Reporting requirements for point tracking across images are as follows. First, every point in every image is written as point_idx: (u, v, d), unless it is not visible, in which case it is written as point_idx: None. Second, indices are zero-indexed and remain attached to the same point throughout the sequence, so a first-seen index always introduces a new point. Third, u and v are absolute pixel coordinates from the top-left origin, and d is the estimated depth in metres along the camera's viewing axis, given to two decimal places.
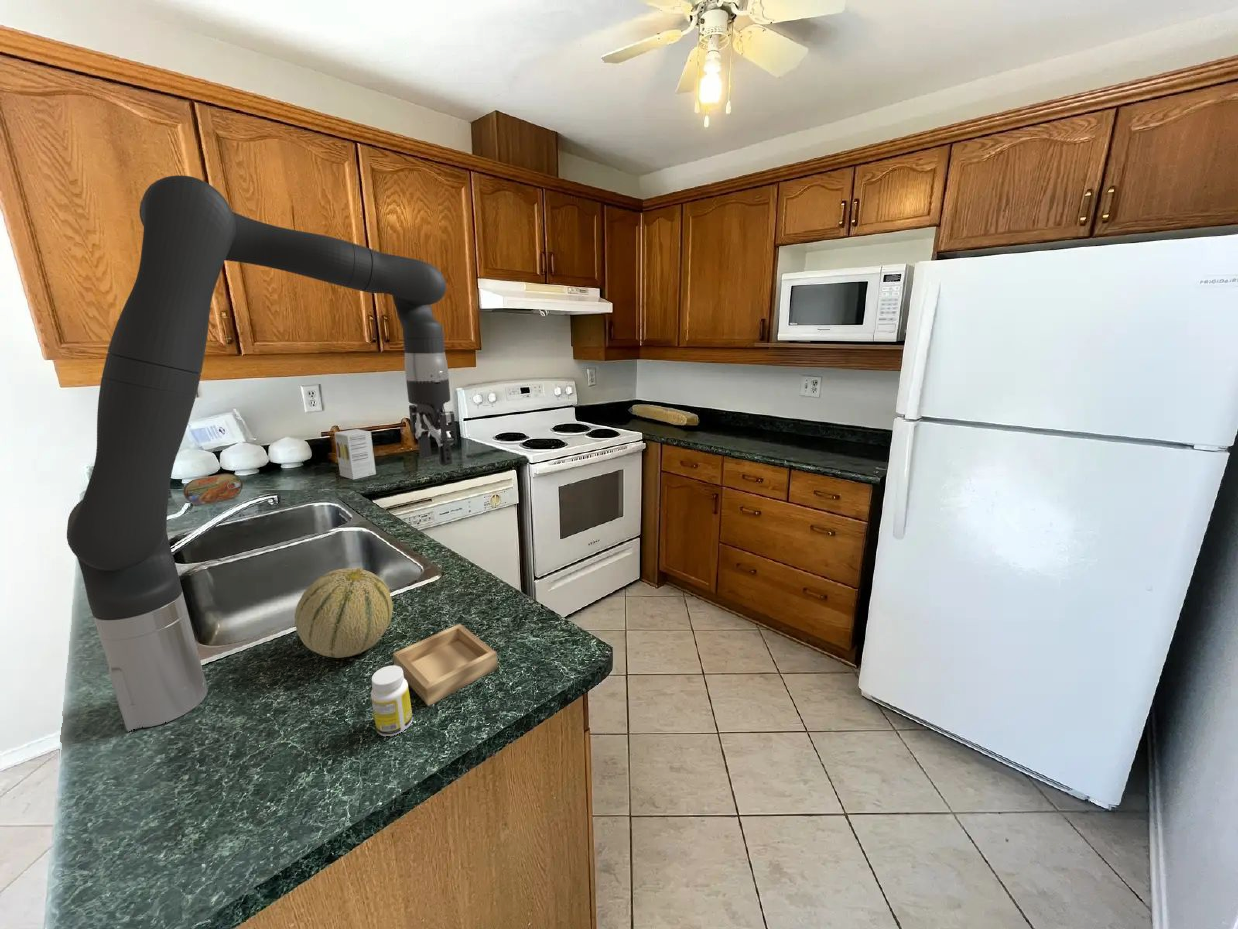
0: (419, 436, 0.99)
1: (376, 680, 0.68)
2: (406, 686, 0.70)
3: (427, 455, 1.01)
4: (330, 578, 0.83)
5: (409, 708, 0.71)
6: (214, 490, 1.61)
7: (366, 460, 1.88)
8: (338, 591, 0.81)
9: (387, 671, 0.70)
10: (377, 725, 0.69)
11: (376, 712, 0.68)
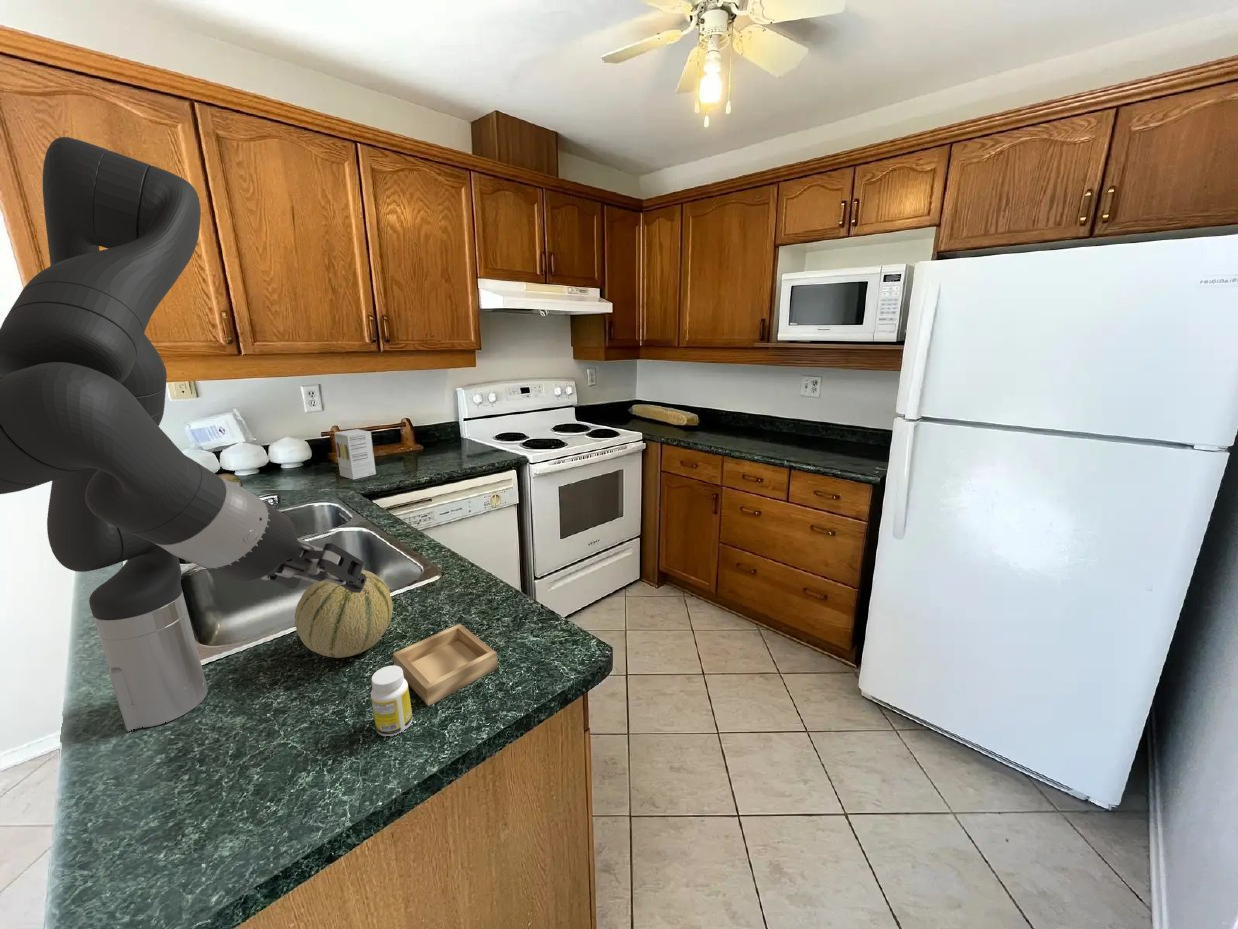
0: None
1: (376, 680, 0.68)
2: (406, 686, 0.70)
3: None
4: None
5: (409, 708, 0.71)
6: None
7: (366, 460, 1.88)
8: (338, 591, 0.81)
9: (387, 671, 0.70)
10: (377, 725, 0.69)
11: (376, 712, 0.68)
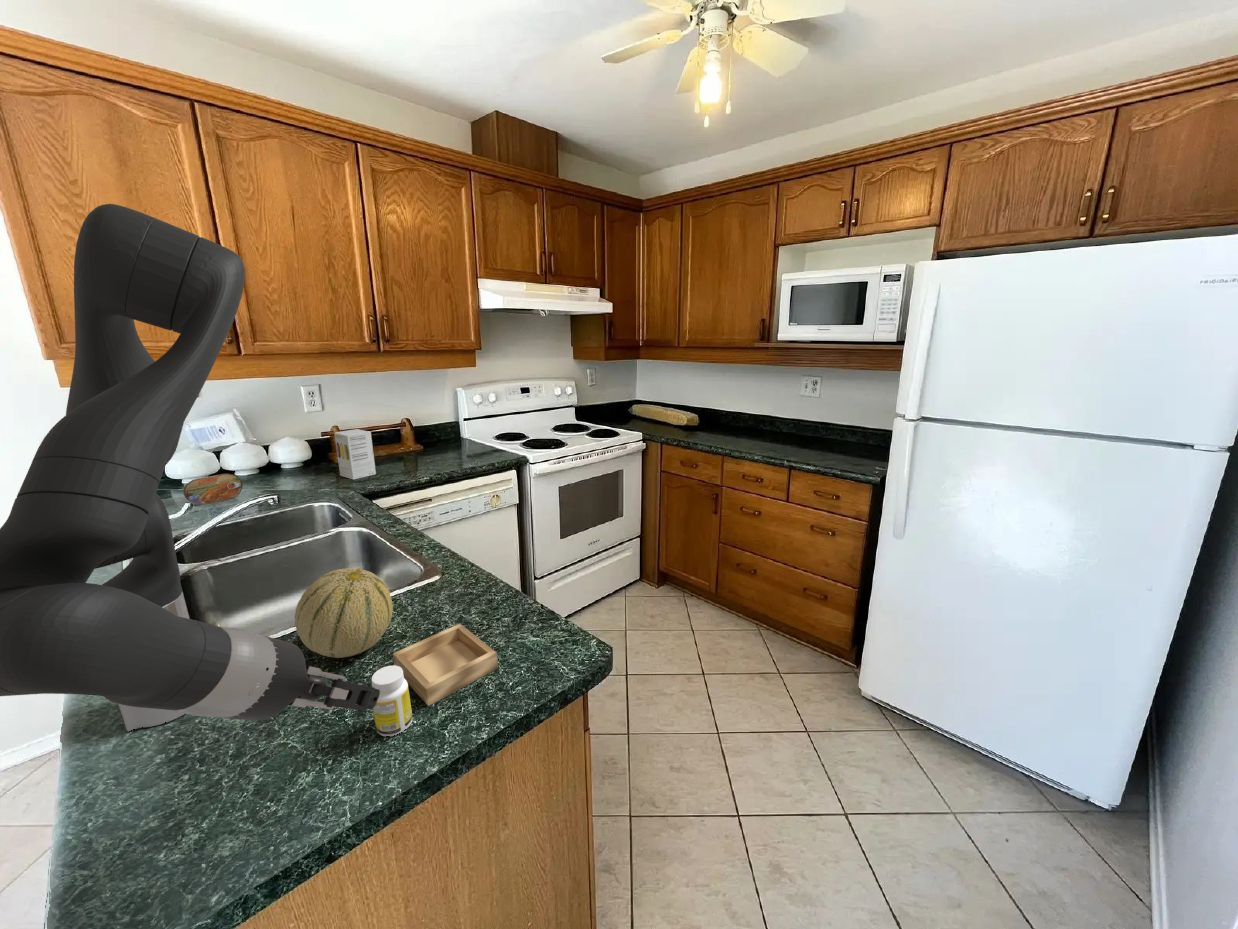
0: None
1: (376, 680, 0.68)
2: (406, 686, 0.70)
3: None
4: (330, 578, 0.83)
5: (409, 708, 0.71)
6: (214, 490, 1.61)
7: (366, 460, 1.88)
8: (338, 591, 0.81)
9: (387, 671, 0.70)
10: (377, 725, 0.69)
11: (376, 712, 0.68)
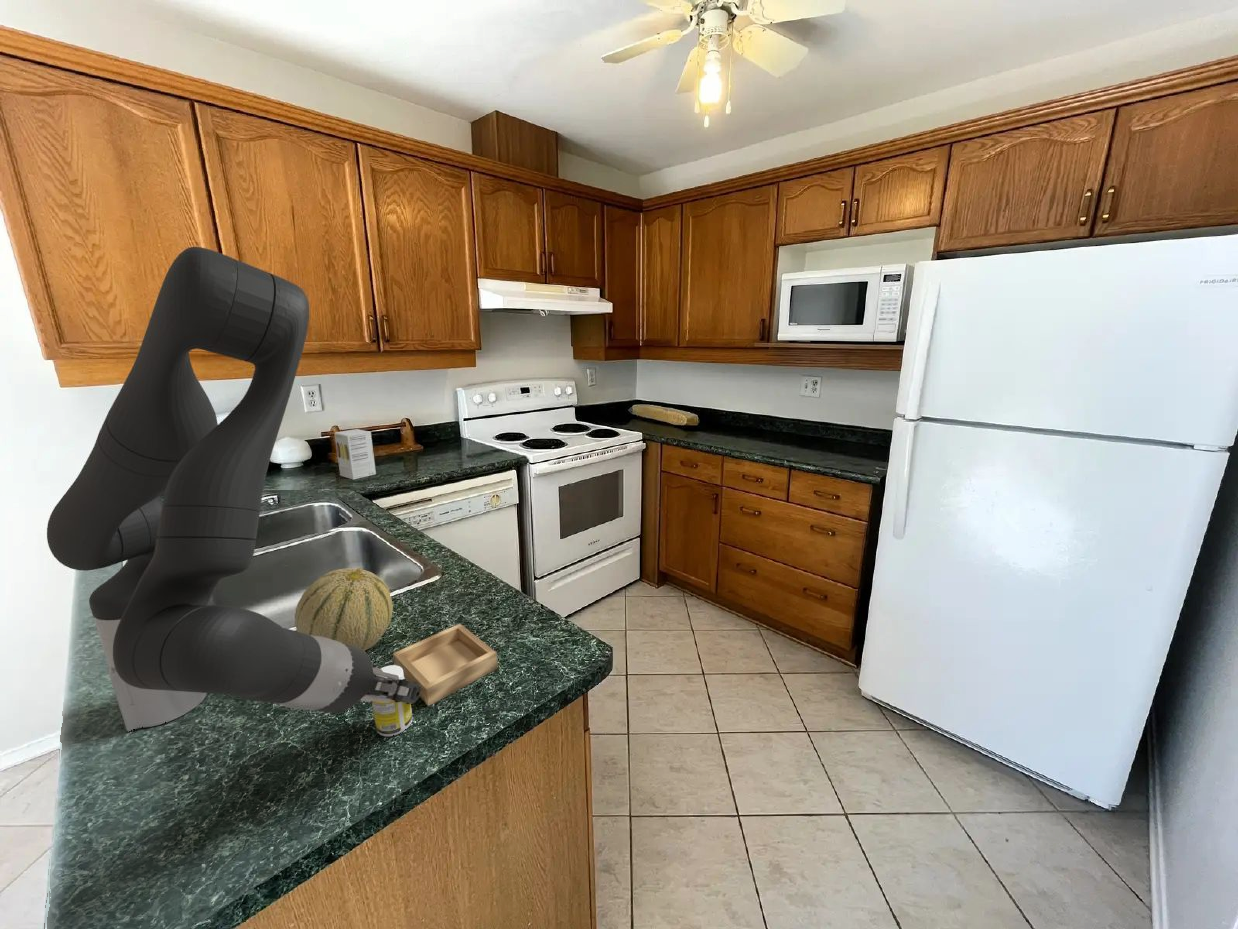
0: None
1: None
2: None
3: None
4: (330, 578, 0.83)
5: (409, 708, 0.71)
6: None
7: (366, 460, 1.88)
8: (338, 591, 0.81)
9: (387, 670, 0.70)
10: (377, 725, 0.69)
11: (376, 712, 0.68)
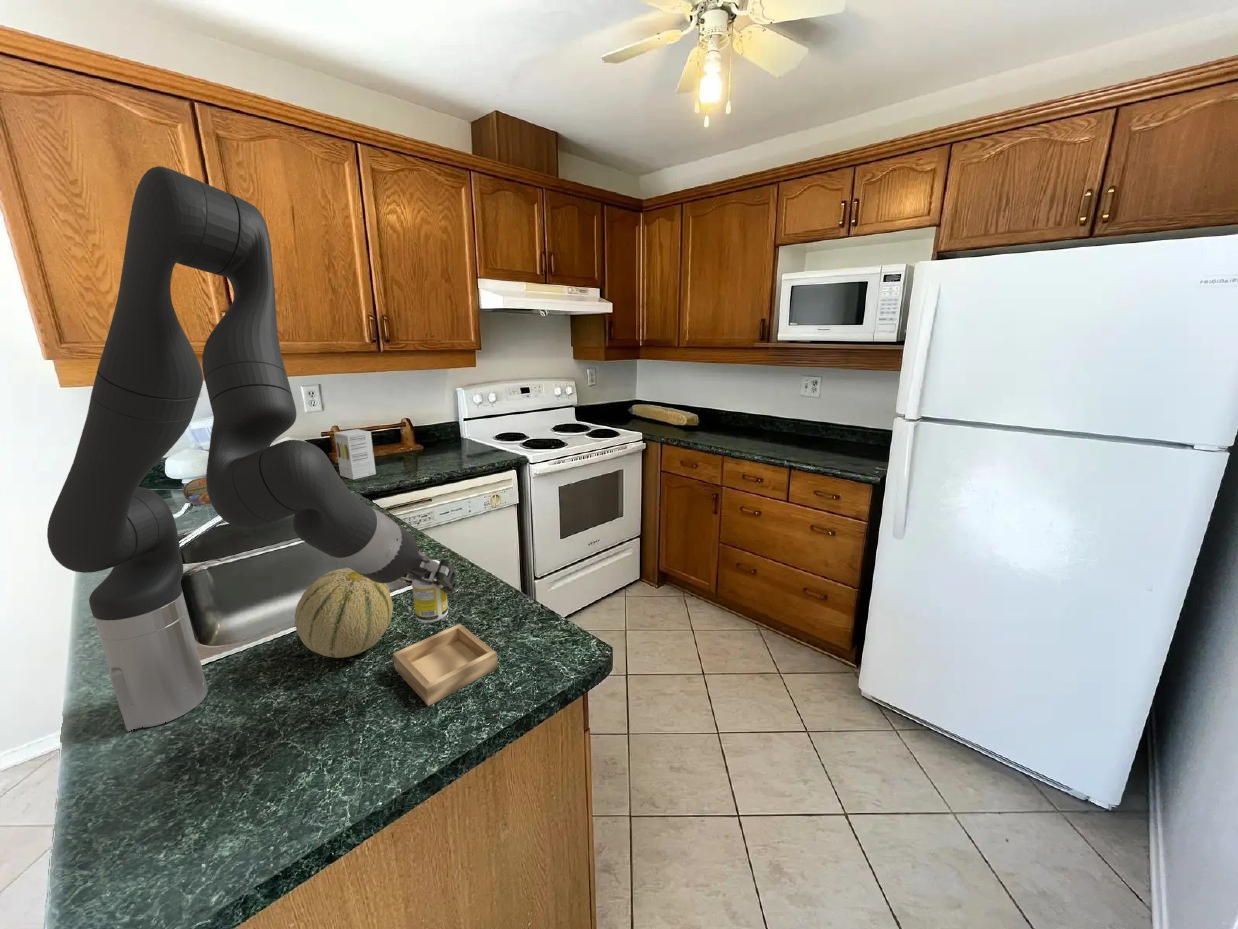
0: None
1: None
2: None
3: None
4: (330, 578, 0.83)
5: (446, 599, 0.77)
6: None
7: (366, 460, 1.88)
8: (338, 591, 0.81)
9: None
10: (417, 611, 0.75)
11: (416, 598, 0.74)
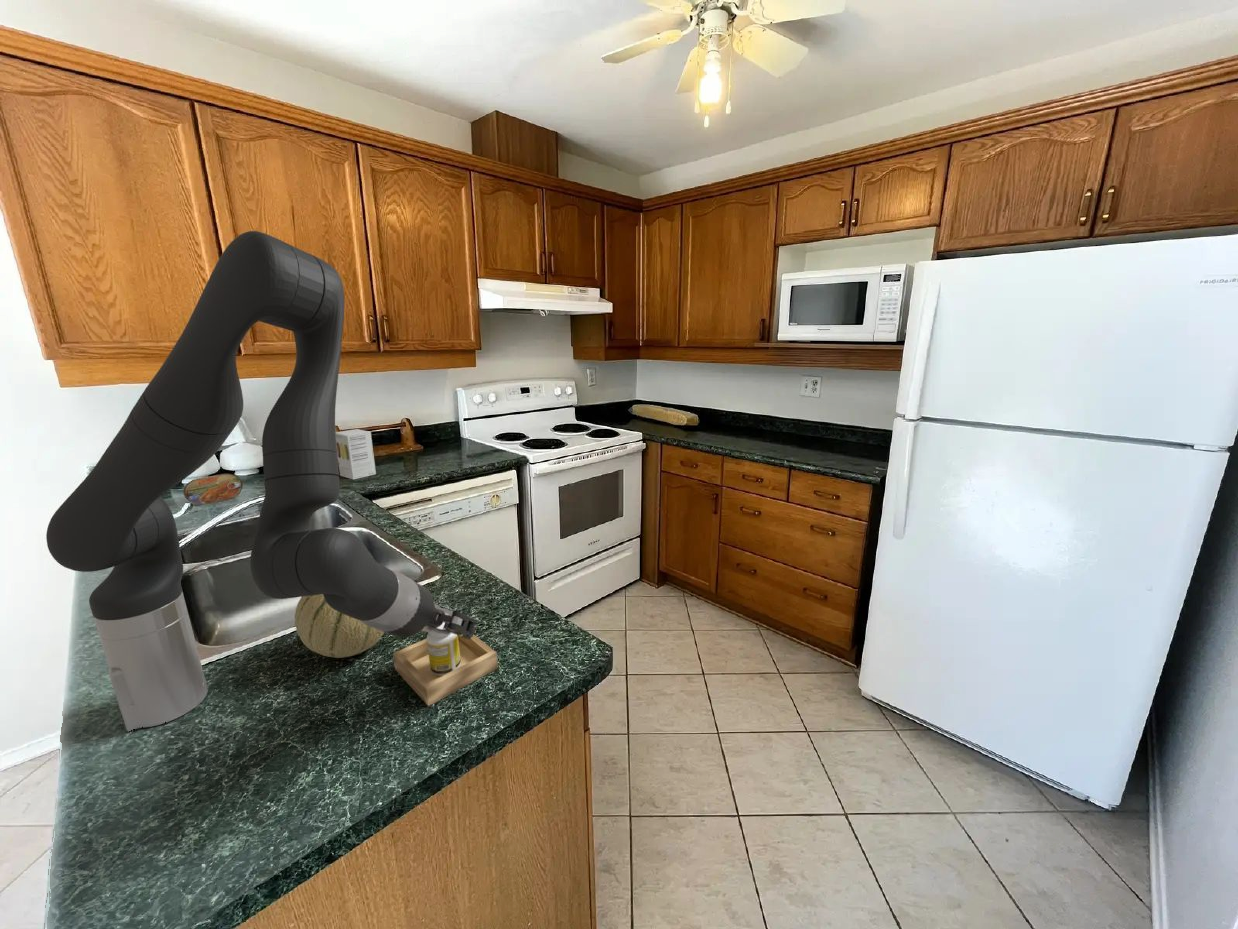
0: None
1: None
2: None
3: None
4: None
5: (458, 652, 0.82)
6: (214, 490, 1.61)
7: (366, 460, 1.88)
8: None
9: None
10: (432, 666, 0.80)
11: (431, 654, 0.79)
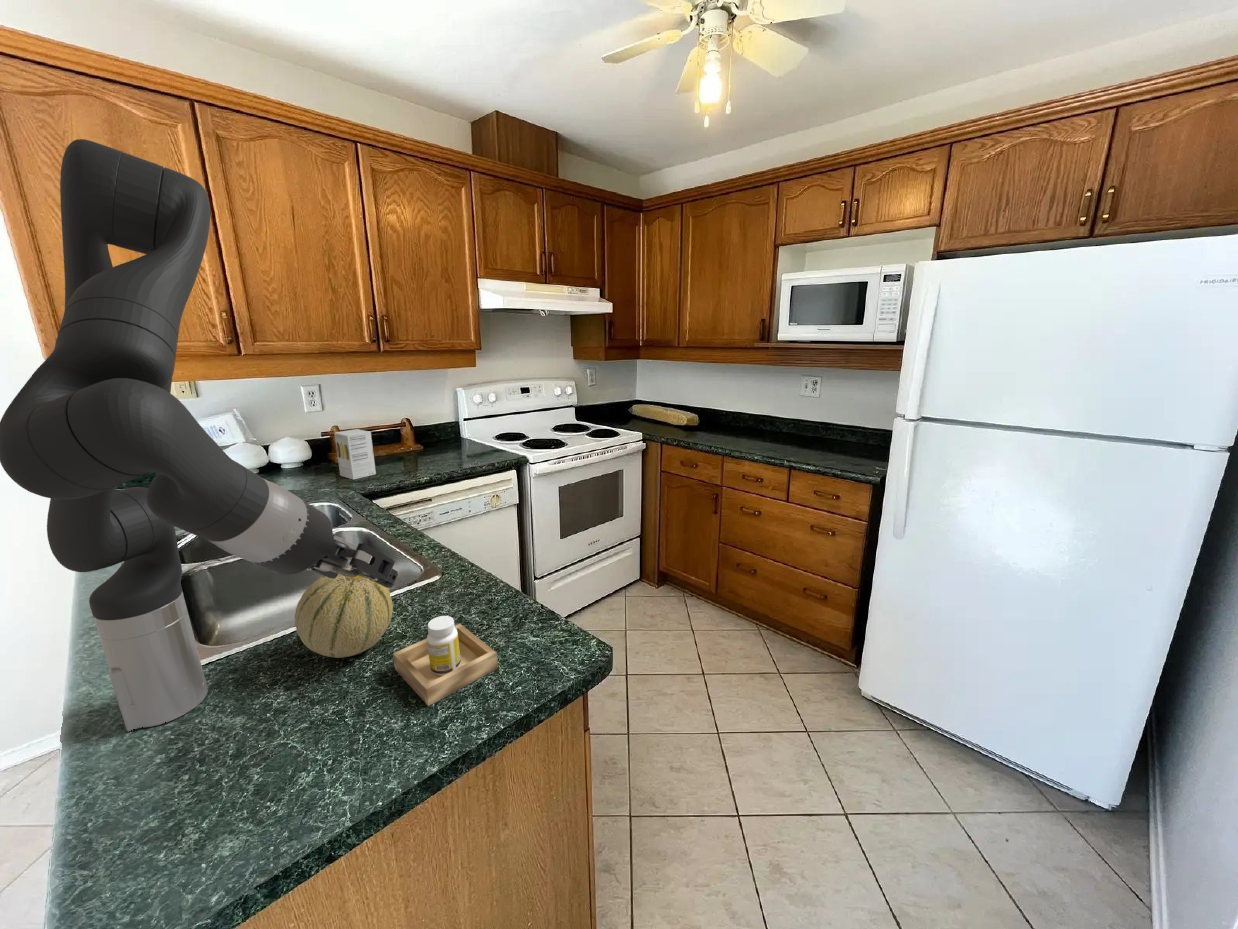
0: None
1: (432, 627, 0.79)
2: (456, 633, 0.81)
3: None
4: (330, 578, 0.83)
5: (459, 652, 0.82)
6: None
7: (366, 460, 1.88)
8: (338, 591, 0.81)
9: (440, 620, 0.81)
10: (432, 666, 0.80)
11: (432, 654, 0.79)
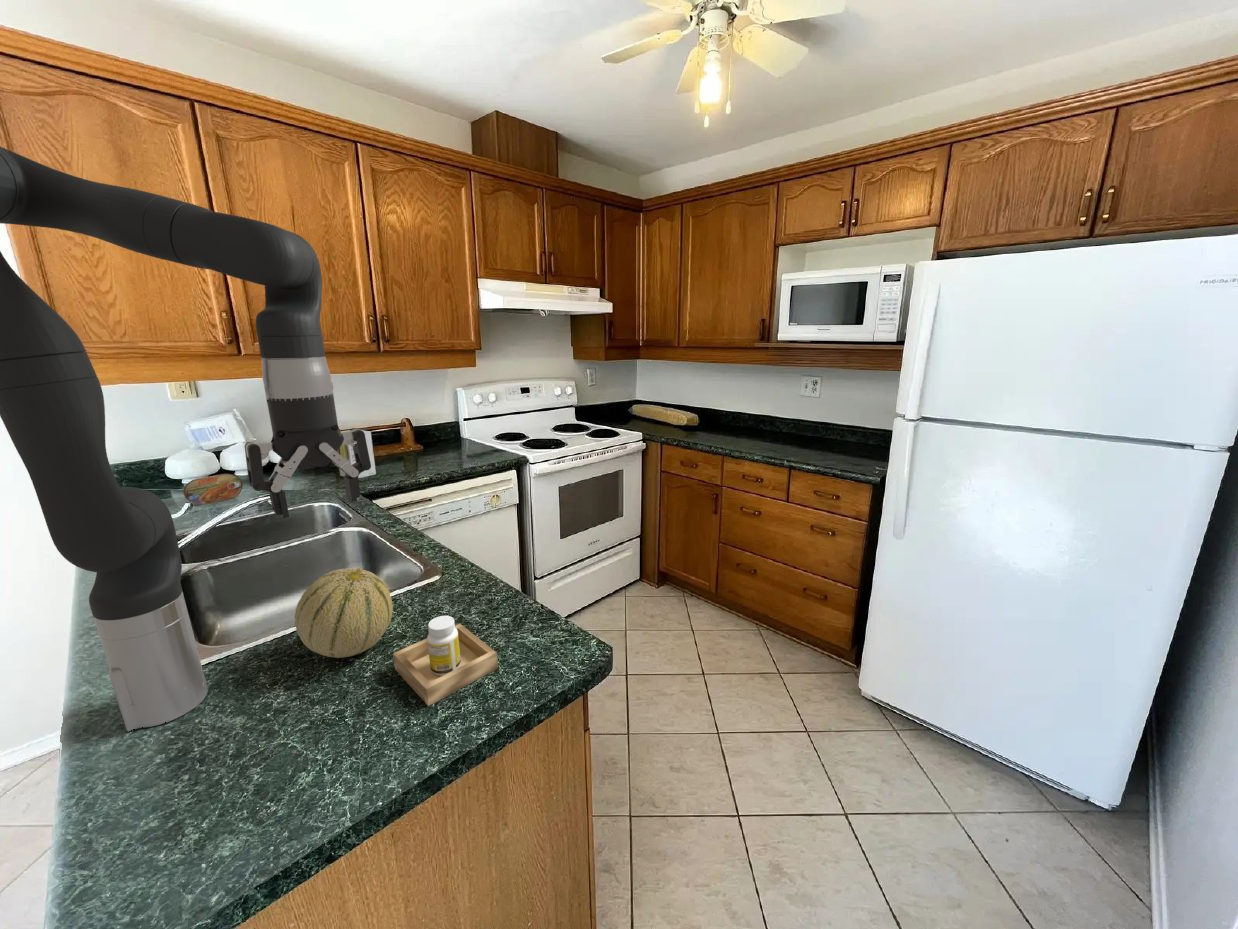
0: (343, 471, 0.72)
1: (432, 626, 0.79)
2: (457, 633, 0.81)
3: (349, 500, 0.72)
4: (330, 578, 0.83)
5: (459, 652, 0.82)
6: (214, 490, 1.61)
7: None
8: (338, 591, 0.81)
9: (440, 619, 0.81)
10: (432, 666, 0.80)
11: (432, 654, 0.79)
